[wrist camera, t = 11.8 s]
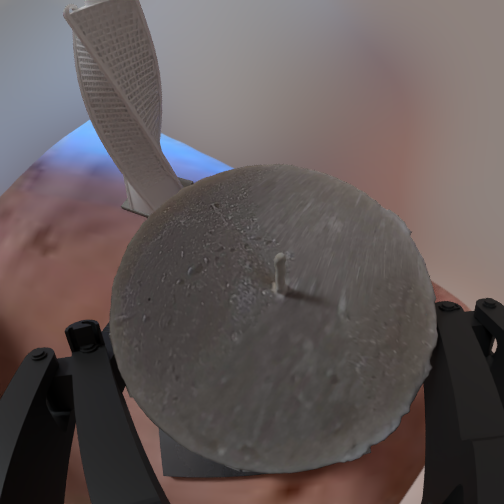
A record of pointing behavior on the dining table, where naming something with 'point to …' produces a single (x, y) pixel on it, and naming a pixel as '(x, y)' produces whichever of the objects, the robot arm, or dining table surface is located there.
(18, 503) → the robot arm
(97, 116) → the skyscraper
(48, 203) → the dining table surface
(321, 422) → the pillar candle
